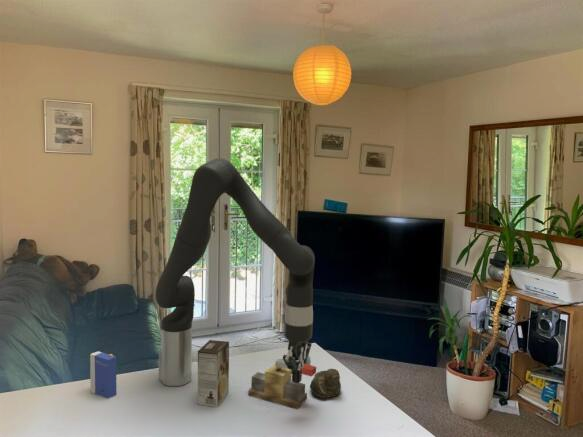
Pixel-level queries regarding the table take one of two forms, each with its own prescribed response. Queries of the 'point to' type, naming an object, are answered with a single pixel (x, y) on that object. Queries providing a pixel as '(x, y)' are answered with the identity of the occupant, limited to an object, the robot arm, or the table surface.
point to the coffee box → (213, 373)
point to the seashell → (326, 383)
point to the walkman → (103, 374)
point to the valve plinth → (278, 387)
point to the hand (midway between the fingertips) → (296, 381)
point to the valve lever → (306, 368)
